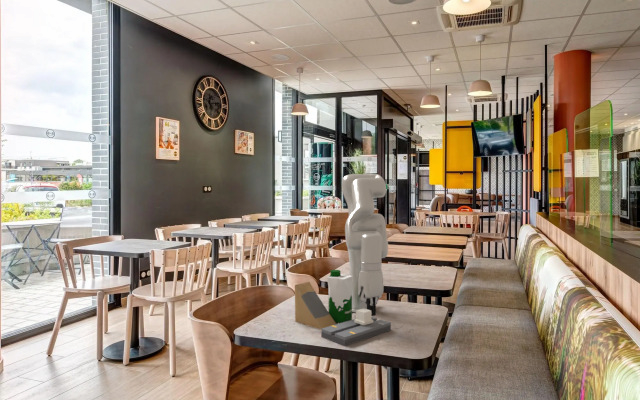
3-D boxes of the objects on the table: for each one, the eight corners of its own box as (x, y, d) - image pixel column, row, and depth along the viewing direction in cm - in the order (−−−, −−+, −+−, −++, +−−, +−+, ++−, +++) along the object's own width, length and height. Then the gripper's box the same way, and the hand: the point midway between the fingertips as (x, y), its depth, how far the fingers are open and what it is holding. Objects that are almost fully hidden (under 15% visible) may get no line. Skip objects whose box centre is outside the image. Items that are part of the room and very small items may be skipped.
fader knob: (363, 322, 173) (363, 307, 172) (373, 325, 169) (373, 310, 169) (354, 325, 169) (354, 310, 169) (364, 328, 166) (364, 313, 165)
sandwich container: (323, 330, 171) (322, 291, 170) (294, 322, 181) (294, 284, 180) (337, 325, 177) (337, 287, 176) (309, 317, 187) (309, 281, 187)
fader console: (367, 322, 179) (367, 315, 179) (390, 330, 170) (390, 322, 170) (321, 336, 163) (321, 328, 163) (344, 345, 154) (344, 336, 154)
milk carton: (335, 316, 188) (335, 268, 187) (355, 319, 183) (355, 270, 182) (324, 321, 181) (324, 271, 180) (344, 325, 176) (344, 274, 175)
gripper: (376, 262, 179) (376, 309, 179) (350, 267, 169) (350, 316, 169) (391, 265, 173) (391, 313, 174) (365, 270, 163) (365, 321, 164)
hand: (371, 314), depth 172 cm, fingers closed
